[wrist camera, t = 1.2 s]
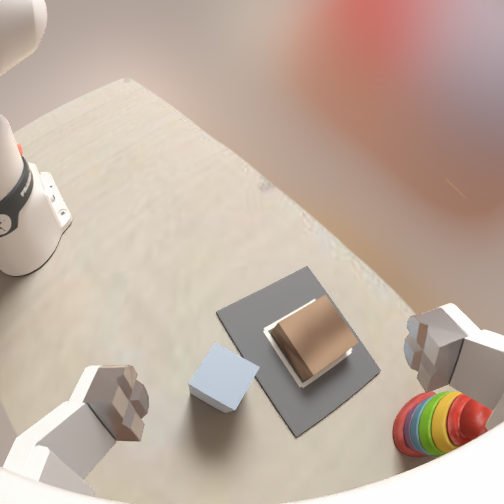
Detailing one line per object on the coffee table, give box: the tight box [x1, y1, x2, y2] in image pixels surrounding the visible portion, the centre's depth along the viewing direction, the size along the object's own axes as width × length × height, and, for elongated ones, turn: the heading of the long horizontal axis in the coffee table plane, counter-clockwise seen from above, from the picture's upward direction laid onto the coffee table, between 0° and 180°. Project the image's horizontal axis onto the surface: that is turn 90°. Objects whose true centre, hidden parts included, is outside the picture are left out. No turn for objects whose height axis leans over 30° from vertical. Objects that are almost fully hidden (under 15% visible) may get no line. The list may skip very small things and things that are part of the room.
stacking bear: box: [393, 392, 493, 457], centre depth 28 cm, size 11×10×18 cm
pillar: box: [189, 342, 260, 413], centre depth 31 cm, size 5×5×10 cm
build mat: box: [216, 266, 381, 437], centre depth 40 cm, size 20×16×1 cm
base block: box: [271, 295, 358, 380], centre depth 39 cm, size 8×8×4 cm
